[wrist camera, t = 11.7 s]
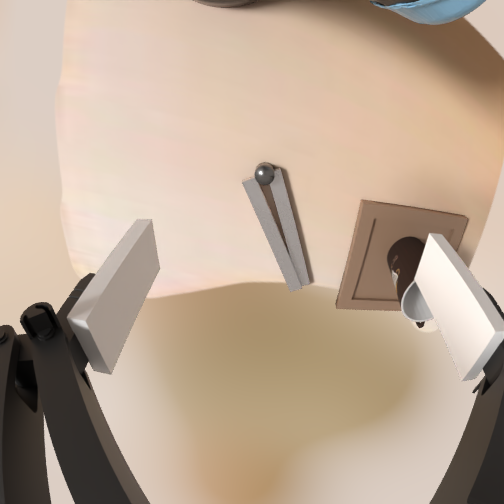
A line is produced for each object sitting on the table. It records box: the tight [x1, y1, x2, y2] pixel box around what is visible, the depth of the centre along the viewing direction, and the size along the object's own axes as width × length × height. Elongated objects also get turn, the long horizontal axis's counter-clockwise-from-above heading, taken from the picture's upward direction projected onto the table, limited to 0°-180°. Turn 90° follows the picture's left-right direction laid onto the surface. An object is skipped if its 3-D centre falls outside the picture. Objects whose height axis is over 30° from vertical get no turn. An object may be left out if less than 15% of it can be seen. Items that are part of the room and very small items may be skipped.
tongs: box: [242, 162, 310, 292], centre depth 42 cm, size 19×5×2 cm, turn 17°
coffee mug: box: [387, 236, 434, 328], centre depth 39 cm, size 12×9×10 cm
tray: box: [336, 200, 468, 311], centre depth 44 cm, size 18×18×1 cm
